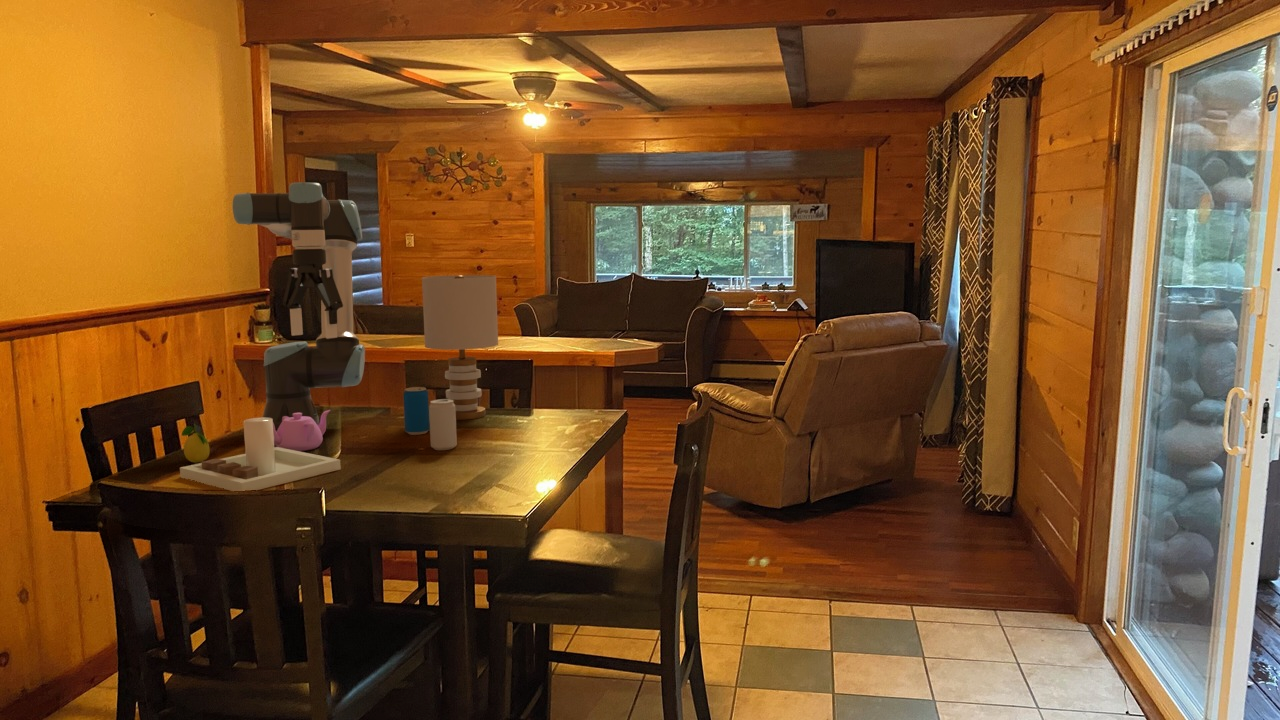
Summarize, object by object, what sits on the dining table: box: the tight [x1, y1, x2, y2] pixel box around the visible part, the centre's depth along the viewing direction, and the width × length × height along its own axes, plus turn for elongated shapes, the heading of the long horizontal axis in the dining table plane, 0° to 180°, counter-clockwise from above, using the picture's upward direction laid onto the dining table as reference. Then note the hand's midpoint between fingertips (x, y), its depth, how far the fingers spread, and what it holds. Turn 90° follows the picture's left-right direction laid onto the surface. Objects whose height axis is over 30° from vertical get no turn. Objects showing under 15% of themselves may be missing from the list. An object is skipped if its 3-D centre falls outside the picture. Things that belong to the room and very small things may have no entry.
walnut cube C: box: [232, 466, 258, 480], centre depth 204 cm, size 4×4×4 cm
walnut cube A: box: [200, 458, 226, 473], centre depth 211 cm, size 4×4×4 cm
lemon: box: [181, 423, 211, 464], centre depth 225 cm, size 7×6×10 cm
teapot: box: [273, 409, 331, 452], centre depth 243 cm, size 12×14×9 cm
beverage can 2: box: [429, 398, 458, 451], centre depth 239 cm, size 6×6×12 cm
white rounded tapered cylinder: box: [242, 417, 276, 476], centre depth 213 cm, size 6×6×12 cm
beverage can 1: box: [403, 386, 430, 436], centre depth 258 cm, size 6×6×12 cm
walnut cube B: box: [217, 462, 241, 476], centre depth 208 cm, size 4×4×4 cm
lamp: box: [421, 274, 499, 421], centre depth 280 cm, size 21×21×41 cm
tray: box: [179, 446, 342, 492], centre depth 214 cm, size 24×24×3 cm
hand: (314, 336), depth 233 cm, fingers open, 13 cm apart
